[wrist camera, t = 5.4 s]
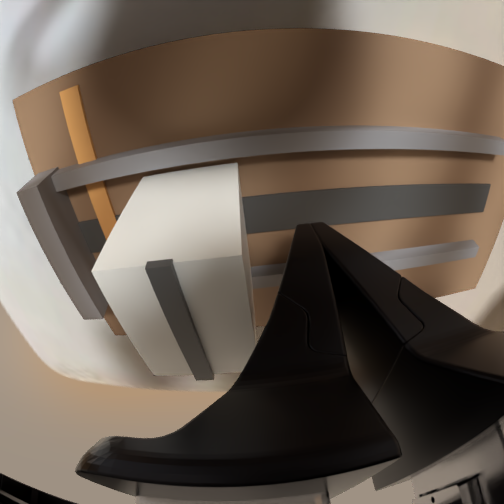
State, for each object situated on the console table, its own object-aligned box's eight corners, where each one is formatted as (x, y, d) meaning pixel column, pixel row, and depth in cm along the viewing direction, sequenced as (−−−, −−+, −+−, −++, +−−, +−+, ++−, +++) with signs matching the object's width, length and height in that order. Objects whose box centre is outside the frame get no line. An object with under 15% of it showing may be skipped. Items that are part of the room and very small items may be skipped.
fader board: (508, 70, 8) (554, 87, 5) (463, 271, 15) (487, 306, 13) (34, 91, 8) (-14, 111, 5) (121, 313, 15) (109, 359, 13)
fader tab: (237, 160, 9) (241, 258, 5) (250, 265, 11) (260, 376, 8) (142, 175, 9) (87, 274, 5) (172, 273, 11) (154, 380, 8)
